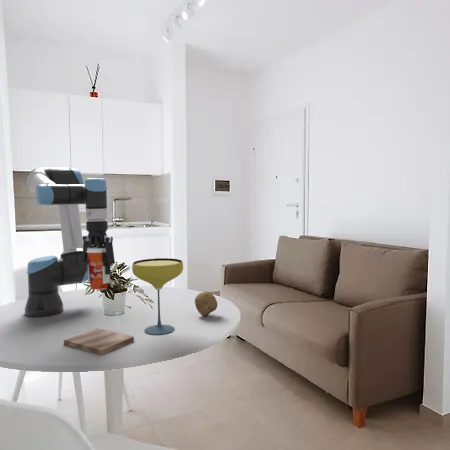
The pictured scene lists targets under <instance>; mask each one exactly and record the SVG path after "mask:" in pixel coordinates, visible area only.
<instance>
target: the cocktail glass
mask: <svg viewBox="0 0 450 450" xmlns="http://www.w3.org/2000/svg"><path fill="white" fill-rule="evenodd" d="M131 269H132V274H133V275H134V276H135V277H136V278H138V279H140V280H141V281H143V282H146V283H148V284H150V285H151V286H152V287H154V289H155V290H156V291H157V324H155V325H151V326H150V325H149V326H147V327H145V328H144V330H143V331H144V333H145V334H147V335H152V336H153V335H154V336H162V335H167V334H170V333H173V332H174V331H175V327H174V326H172V325H170V324H162V320H161V305H160V304H161V300H160V290H161V289H163V288H164V286H165V285H166V284H167V283H168V282H170V281H172V280H174V279H176V278H178V277H179V276H180V275H181V274H182V273H183V271H184V263H183V261H182V260H181V259H177V258H167V257H166V258H164V257H163V258H147V259H140V260H136V261H134V262H132V266H131ZM172 331H173V332H172Z"/></svg>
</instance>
